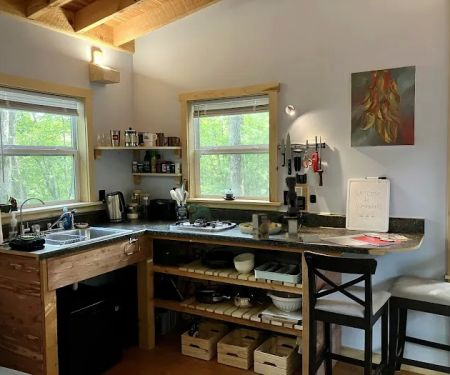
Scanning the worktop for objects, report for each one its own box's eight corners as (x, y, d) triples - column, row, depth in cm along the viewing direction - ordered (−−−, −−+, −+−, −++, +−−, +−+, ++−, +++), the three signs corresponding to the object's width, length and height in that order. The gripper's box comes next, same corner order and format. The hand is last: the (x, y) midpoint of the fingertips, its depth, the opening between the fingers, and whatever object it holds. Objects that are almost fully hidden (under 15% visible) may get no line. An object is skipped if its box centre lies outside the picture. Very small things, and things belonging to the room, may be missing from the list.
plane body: (285, 236, 276) (285, 224, 276) (298, 236, 275) (298, 224, 275) (286, 241, 258) (286, 228, 257) (299, 241, 257) (299, 228, 256)
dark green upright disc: (189, 227, 320) (189, 201, 319) (186, 225, 326) (185, 200, 325) (212, 224, 330) (212, 199, 329) (208, 223, 336) (208, 199, 334)
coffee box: (258, 240, 263) (258, 214, 262) (252, 239, 268) (252, 214, 267) (269, 238, 268) (269, 213, 267) (262, 237, 273) (262, 212, 272)
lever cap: (288, 235, 264) (288, 220, 264) (296, 236, 264) (296, 220, 263) (288, 237, 260) (288, 221, 260) (297, 237, 260) (297, 221, 259)
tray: (302, 238, 267) (302, 235, 267) (319, 238, 266) (319, 235, 266) (303, 241, 257) (303, 238, 257) (320, 241, 256) (320, 238, 255)
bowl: (279, 236, 278) (279, 224, 278) (235, 235, 284) (235, 223, 284) (282, 229, 308) (282, 218, 307) (242, 228, 314) (242, 217, 313)
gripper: (277, 202, 266) (277, 221, 255) (307, 202, 263) (308, 222, 253) (277, 212, 274) (277, 232, 264) (306, 212, 272) (307, 232, 261)
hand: (292, 229), depth 260 cm, fingers closed on lever cap, 5 cm apart
